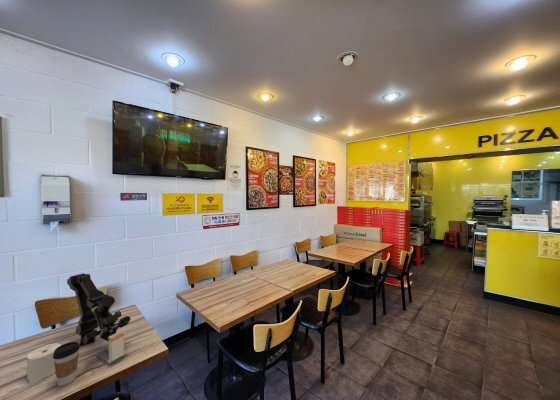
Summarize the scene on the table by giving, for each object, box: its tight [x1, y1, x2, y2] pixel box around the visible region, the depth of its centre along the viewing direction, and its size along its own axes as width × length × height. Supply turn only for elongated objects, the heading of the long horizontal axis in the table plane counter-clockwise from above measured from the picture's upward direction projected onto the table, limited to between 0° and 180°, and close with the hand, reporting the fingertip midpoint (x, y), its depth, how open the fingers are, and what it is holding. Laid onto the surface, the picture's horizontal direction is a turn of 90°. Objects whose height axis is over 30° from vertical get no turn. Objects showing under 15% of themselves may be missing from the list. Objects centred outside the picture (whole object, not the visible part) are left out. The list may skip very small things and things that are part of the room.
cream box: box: [108, 330, 125, 361], centre depth 107 cm, size 3×5×11 cm, turn 151°
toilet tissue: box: [26, 343, 62, 386], centre depth 100 cm, size 11×12×10 cm
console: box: [95, 346, 127, 367], centre depth 109 cm, size 14×7×2 cm, turn 61°
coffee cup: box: [53, 341, 81, 387], centre depth 95 cm, size 8×8×15 cm
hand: (114, 344), depth 107 cm, fingers closed, pressing on cream box
